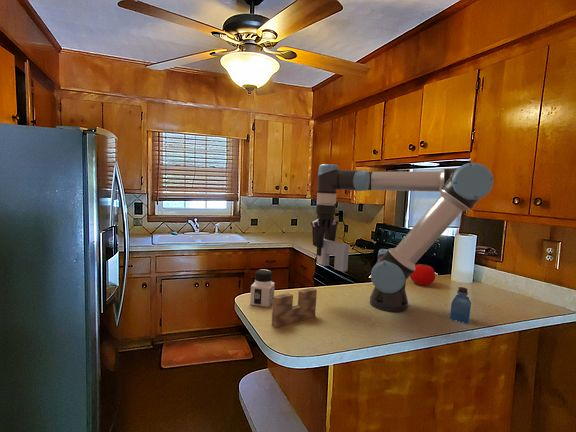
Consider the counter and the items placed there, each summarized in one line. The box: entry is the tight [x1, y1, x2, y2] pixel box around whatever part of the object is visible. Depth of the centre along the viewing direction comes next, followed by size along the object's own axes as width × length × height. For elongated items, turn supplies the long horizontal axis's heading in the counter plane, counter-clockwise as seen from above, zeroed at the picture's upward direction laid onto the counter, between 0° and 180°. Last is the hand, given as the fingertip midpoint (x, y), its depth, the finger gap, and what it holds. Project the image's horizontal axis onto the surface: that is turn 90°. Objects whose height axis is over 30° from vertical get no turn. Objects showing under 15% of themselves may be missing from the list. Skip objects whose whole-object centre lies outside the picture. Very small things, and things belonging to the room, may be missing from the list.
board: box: [271, 287, 318, 328], centre depth 118 cm, size 18×2×10 cm, turn 129°
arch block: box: [316, 238, 350, 273], centre depth 129 cm, size 14×2×10 cm, turn 39°
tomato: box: [409, 263, 436, 287], centre depth 170 cm, size 11×12×10 cm
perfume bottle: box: [449, 286, 472, 324], centre depth 127 cm, size 6×6×12 cm
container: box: [249, 268, 275, 308], centre depth 133 cm, size 8×8×13 cm
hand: (322, 263), depth 134 cm, fingers closed on arch block, 2 cm apart
